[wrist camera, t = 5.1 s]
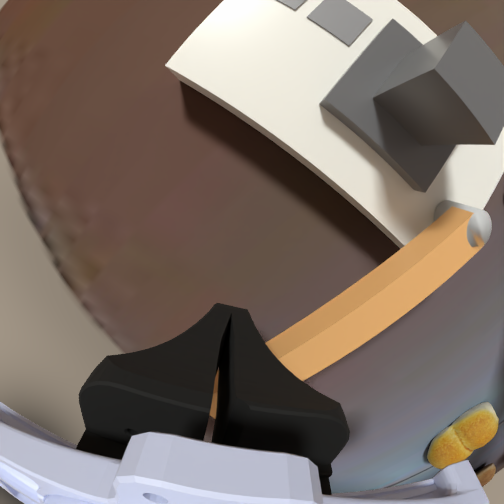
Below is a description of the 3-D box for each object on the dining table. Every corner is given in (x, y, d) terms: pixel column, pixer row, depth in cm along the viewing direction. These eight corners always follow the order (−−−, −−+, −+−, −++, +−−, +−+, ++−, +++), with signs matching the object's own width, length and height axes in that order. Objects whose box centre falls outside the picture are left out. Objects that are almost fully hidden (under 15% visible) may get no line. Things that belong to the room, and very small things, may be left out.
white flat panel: (492, 140, 13) (519, 140, 10) (414, 262, 15) (436, 279, 13) (293, -36, 10) (298, -61, 8) (179, 80, 12) (164, 64, 10)
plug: (442, 112, 12) (545, 99, 5) (392, 185, 14) (497, 212, 6) (367, 42, 11) (444, -27, 4) (308, 113, 13) (366, 61, 5)
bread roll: (413, 448, 21) (425, 476, 17) (481, 391, 19) (500, 416, 15) (439, 459, 23) (449, 482, 19) (496, 412, 21) (510, 432, 17)
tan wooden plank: (450, 193, 11) (485, 202, 9) (461, 220, 12) (495, 234, 9) (203, 367, 14) (194, 403, 11) (223, 386, 14) (219, 421, 12)
